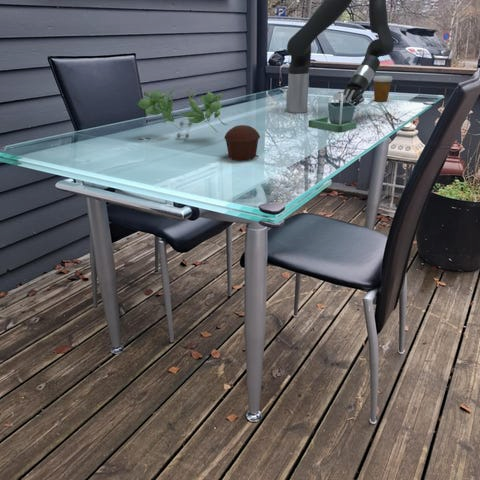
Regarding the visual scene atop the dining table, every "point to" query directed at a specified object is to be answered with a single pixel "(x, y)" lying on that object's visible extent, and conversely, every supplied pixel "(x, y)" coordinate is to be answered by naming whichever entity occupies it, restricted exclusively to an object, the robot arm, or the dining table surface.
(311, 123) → the green u-shaped frame
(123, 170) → the dining table surface
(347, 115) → the flower pot
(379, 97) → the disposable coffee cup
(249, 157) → the muffin
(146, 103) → the plant cuttings
